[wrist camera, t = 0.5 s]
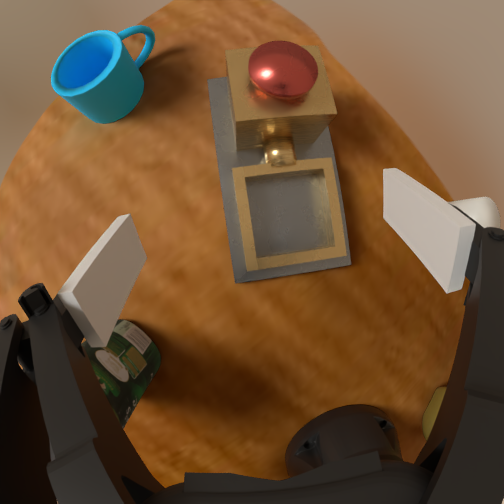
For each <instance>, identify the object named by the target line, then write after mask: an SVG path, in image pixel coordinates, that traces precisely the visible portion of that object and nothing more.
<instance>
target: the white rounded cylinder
mask: <svg viewBox="0 0 504 504" xmlns="http://www.w3.org/2000/svg"><path fill="white" fill-rule="evenodd" d="M447 203H449V204H452V205H454V206H456V207H458V208H459V209H461V210H462V211H463V212H464V213H466V214H467V215H468V216H469V217H471V218H472V219H474V220H475V221H476V222H477V223H479V224H480V225H481V226H482V227H484V228H486V227H496V228H499V229H500V215H499V211H498V208H497V206H496V204H495V203H494V201H493V200H492V199H490V198H488V197H480V198H473V199H467V200H459V201H453V202H447Z"/></svg>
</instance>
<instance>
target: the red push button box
mask: <svg viewBox="0 0 504 504" xmlns="http://www.w3.org/2000/svg"><path fill="white" fill-rule="evenodd" d="M225 57H226V72H227V77H222V78H215V79H208V80H207V81H208V89H209V97H210V106H211V114H212V122H213V130H214V138H215V145H216V153H217V160H218V168H219V175H220V183H221V190H222V197H223V204H224V211H225V218H226V225H227V232H228V239H229V245H230V252H231V259H232V265H233V272H234V278H235V283H242V282H249V281H255V280H262V279H268V278H275V277H281V276H287V275H293V274H300V273H306V272H312V271H318V270H324V269H330V268H335V267H341V266H347V265H351V259H350V250H349V242H348V234H347V227H346V220H345V213H344V207H343V200H342V194H341V188H340V182H339V177H338V171H337V166H336V161H335V156H334V151H333V146H332V141H331V136H330V132H329V127H328V125H329V124H330V122H331V121H332V120H333V119H334V118H335V116H336V115H337V110H336V106H335V102H334V98H333V95H332V91H331V87H330V84H329V80H328V77H327V73H326V70H325V66H324V63H323V60H322V57H321V53H320V50H319V47H318V46H299V45H297V44H294V43H291V42H287V41H272V42H268V43H265V44H262V45H261V46H259V47H255V48H244V49H234V50H225Z"/></svg>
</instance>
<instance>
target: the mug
mask: <svg viewBox="0 0 504 504" xmlns="http://www.w3.org/2000/svg"><path fill="white" fill-rule="evenodd" d="M137 33H144V34H145V35H146V42H145V46H144V48H143V50H142V52H141V54H140V55H139V56H138V58H137V59H136V60H135V61H133V59H132V57H131V56H130V54H129V52H128V51H127V49H126V47H125V46H124V44H123V42H122V40H123V39H125V38H127V37H129V36H131V35H133V34H137ZM154 43H155V34H154V32H153V31H152V29H151V28H150V27H147V26H142V25H139V26H133V27H129V28H127V29H125V30H123V31H121V32H119V33H118V34H116V33H114V32H111V31H108V30H99V31H94V32H91V33H88V34H85V35H84V36H82V37H80V38H78V39H77V40H75V41H74V42H73V43H72V44H70V45H69V46H68V47H67V48H66V49H65V50H64V51H63V53H62V54H61V55H60V56H59V58H58V60H57V61H56V63H55V65H54V67H53V71H52V75H51V83H52V87H53V89H54V90H55V92H56V93H57V94H59V95H60V96H61V97H62V98H64V99H65V100H66V101H67V102H69V103H70V104H71V105H73V106H74V107H75V108H76V109H78V110H79V111H80V112H81V113H83V114H84V115H85V116H87V117H88V118H89V119H91V120H92V121H94V122H96V123H103V124H106V123H111V122H115V121H117V120H119V119H121V118H123V117H125V116H126V115H127V114H128V113H129V112H131V111H132V110H133V109H134V107H135V106H136V105H137V104H138V102H139V101H140V98H141V96H142V94H143V90H144V80H143V77H142V74H141V73H140V71H139V68H140V67H141V66H142V64H143V63H144V62H145V60H146V59H147V58H148V56H149V54H150V53H151V51H152V49H153V46H154Z"/></svg>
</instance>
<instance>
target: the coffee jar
mask: <svg viewBox="0 0 504 504" xmlns="http://www.w3.org/2000/svg"><path fill="white" fill-rule="evenodd" d="M81 345H82V346H83V347H84V349H85V350H86V353H87V355H88V358H89V360H90V362H91V365H92V367H93V369H94V372H95V374H96V376H97V378H98V381H99V383H100V385H101V387H102V389H103V391H104V393H105V395H106V397H107V399H108V401H109V403H110V405H111V407H112V409H113V411H114V413H115V415H116V417H117V419H118V421H119V422H120V424H121V426H122V428H124V427H125V425H126V423H127V421H128V419H129V418H130V416H131V414H132V413H133V411H134V409H135V407H136V405H137V404H138V402H139V400H140V399H141V397H142V395H143V393H144V392H145V390H146V389H147V387H148V385H149V384H150V382H151V380H152V379H153V377H154V376H155V374H156V372H157V371H158V369H159V367H160V363H161V356H160V353H159V350H158V348H157V347H156V345H155V344H154V342H153V341H152V340H151V339H150V338H149V337H148V336H147V335H146V333H144V332H143V331H142V330H141V329H140V328H139V327H137V326H136V325H134V324H133V323H131V322H129V321H127V320H121V319H120V320H117V322H116V325H115V327H114V329H113V331H112V334H111V336H110V338H109V341H108V343H107V346H106V347H91V346H90V345H89V343H88V342H87V340H86V341H84V342H83V343H82V344H81ZM49 440H50V439H49ZM50 454H51V461H53V460H55V455H54V452H53V449H52V446H51V442H50Z"/></svg>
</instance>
